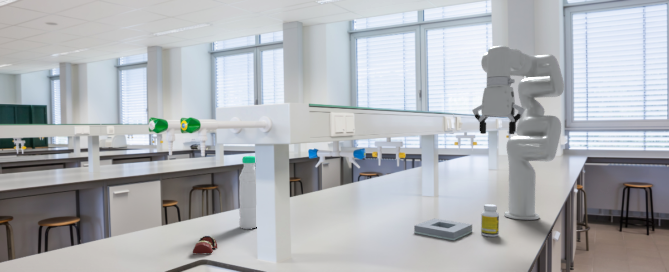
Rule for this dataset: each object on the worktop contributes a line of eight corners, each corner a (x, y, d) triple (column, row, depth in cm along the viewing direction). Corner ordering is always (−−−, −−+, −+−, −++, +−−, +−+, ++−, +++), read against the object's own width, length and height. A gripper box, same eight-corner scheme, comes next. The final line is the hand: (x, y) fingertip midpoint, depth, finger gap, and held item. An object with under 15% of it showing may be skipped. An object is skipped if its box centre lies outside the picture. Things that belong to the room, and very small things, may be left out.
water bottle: (235, 228, 149) (234, 156, 149) (246, 224, 156) (246, 155, 155) (252, 230, 147) (252, 157, 146) (263, 225, 153) (263, 155, 153)
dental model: (191, 240, 119) (199, 233, 127) (190, 256, 119) (199, 247, 127) (211, 241, 119) (218, 234, 127) (211, 256, 119) (218, 248, 127)
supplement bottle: (500, 237, 138) (500, 207, 137) (482, 236, 139) (482, 206, 138) (497, 233, 143) (497, 204, 143) (480, 232, 144) (480, 203, 144)
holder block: (434, 225, 154) (434, 218, 154) (472, 231, 145) (472, 224, 145) (414, 232, 143) (414, 225, 143) (453, 240, 134) (453, 232, 134)
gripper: (528, 83, 143) (527, 134, 143) (478, 86, 154) (476, 133, 154) (521, 80, 137) (519, 134, 137) (469, 83, 149) (468, 133, 149)
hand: (497, 133), depth 146 cm, fingers open, 9 cm apart
